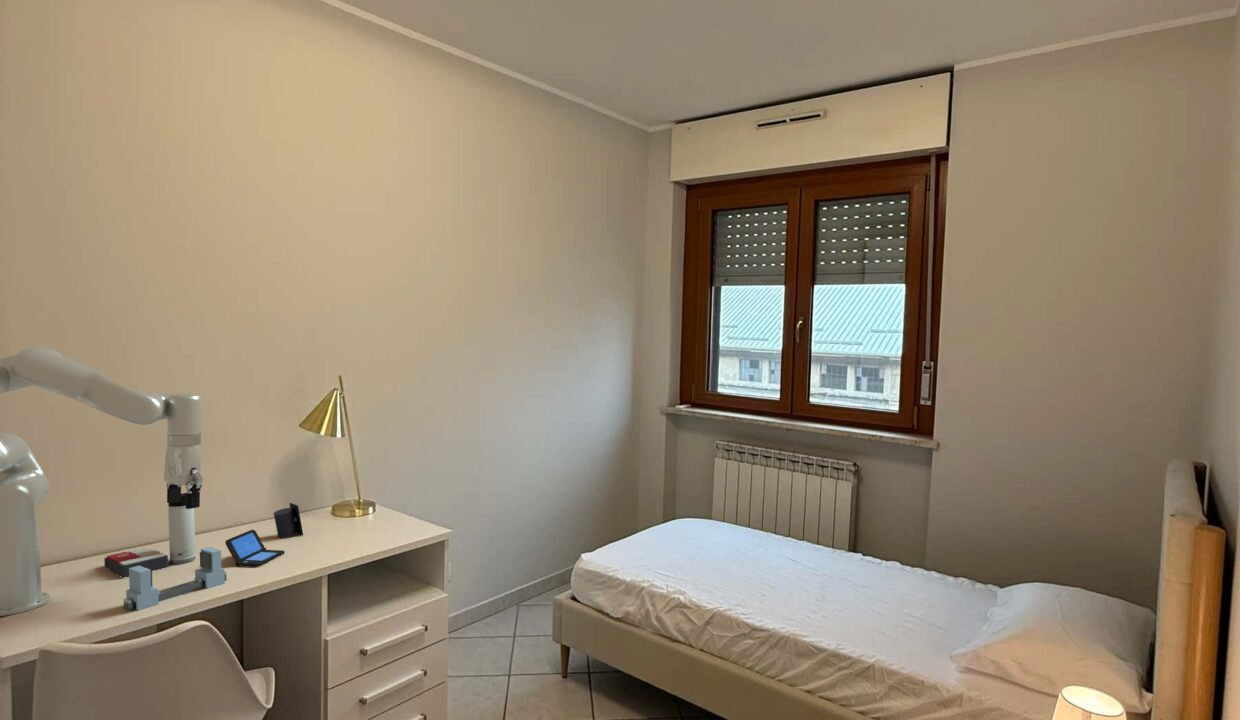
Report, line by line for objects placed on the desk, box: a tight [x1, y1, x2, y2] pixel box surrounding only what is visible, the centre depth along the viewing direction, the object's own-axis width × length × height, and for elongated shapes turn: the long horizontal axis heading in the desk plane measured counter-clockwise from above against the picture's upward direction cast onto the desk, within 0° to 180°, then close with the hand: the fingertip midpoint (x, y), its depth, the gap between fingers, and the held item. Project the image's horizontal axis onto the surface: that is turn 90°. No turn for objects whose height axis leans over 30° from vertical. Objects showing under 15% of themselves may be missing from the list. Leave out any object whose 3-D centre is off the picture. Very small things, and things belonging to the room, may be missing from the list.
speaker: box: [273, 502, 304, 539], centre depth 220 cm, size 8×6×10 cm
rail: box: [123, 570, 228, 612], centre depth 171 cm, size 23×2×3 cm, turn 149°
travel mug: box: [167, 492, 196, 565], centre depth 196 cm, size 6×7×20 cm
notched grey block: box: [194, 546, 226, 589], centre depth 178 cm, size 6×4×9 cm
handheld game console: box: [224, 529, 286, 568], centre depth 197 cm, size 12×11×7 cm
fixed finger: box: [125, 566, 159, 611], centre depth 164 cm, size 6×4×9 cm
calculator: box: [103, 546, 169, 579], centre depth 191 cm, size 11×4×15 cm
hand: (183, 505), depth 178 cm, fingers open, 9 cm apart
